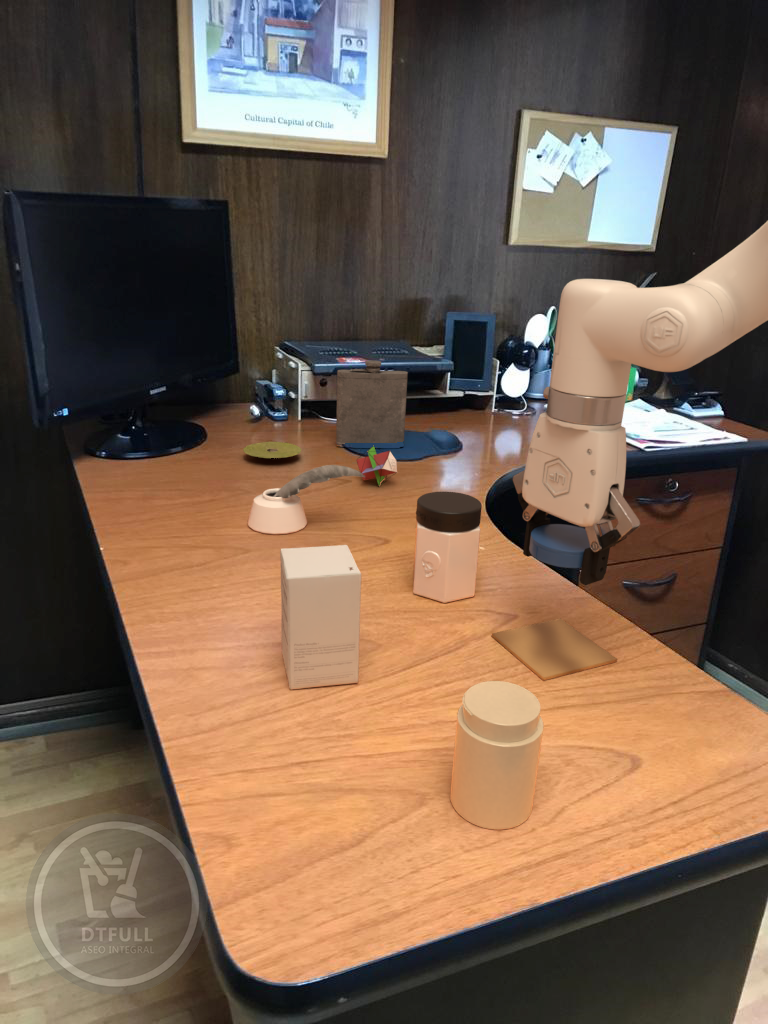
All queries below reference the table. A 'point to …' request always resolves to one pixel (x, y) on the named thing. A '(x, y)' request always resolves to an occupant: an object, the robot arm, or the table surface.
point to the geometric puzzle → (377, 465)
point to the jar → (446, 546)
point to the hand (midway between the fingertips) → (562, 566)
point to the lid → (559, 545)
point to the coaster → (553, 648)
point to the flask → (370, 405)
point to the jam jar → (496, 755)
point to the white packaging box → (320, 616)
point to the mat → (272, 450)
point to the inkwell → (290, 501)
